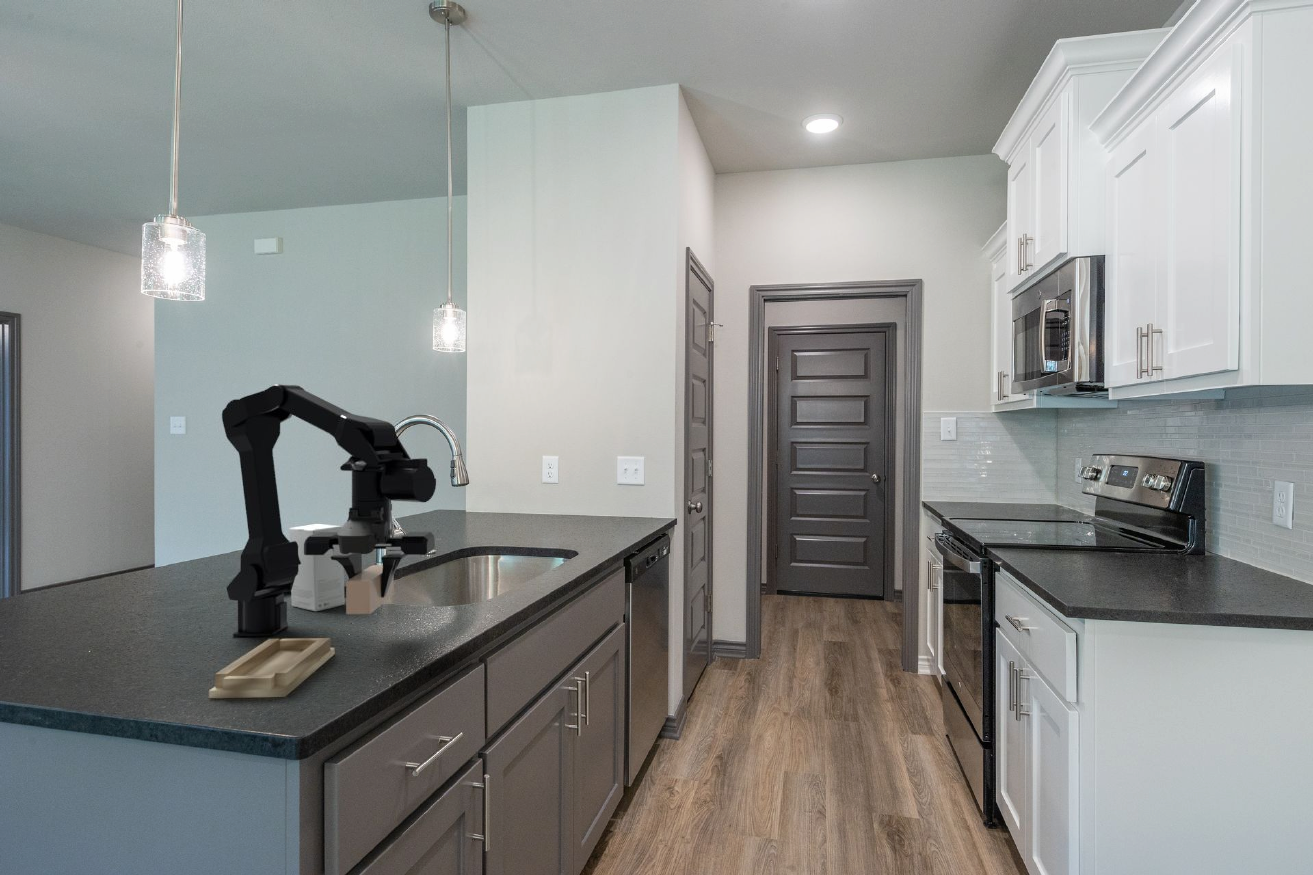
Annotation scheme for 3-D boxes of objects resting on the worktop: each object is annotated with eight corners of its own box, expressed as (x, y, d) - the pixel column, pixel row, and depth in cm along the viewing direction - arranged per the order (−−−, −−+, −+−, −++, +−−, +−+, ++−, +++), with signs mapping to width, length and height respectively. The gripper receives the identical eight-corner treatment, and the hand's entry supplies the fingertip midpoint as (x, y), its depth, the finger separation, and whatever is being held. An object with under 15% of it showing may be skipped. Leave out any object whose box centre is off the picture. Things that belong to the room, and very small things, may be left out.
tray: (208, 698, 91) (208, 676, 91) (270, 654, 108) (270, 636, 108) (285, 696, 92) (285, 675, 92) (334, 653, 109) (334, 635, 109)
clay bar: (346, 614, 106) (346, 581, 106) (372, 594, 118) (372, 565, 118) (370, 613, 107) (370, 581, 106) (393, 594, 119) (393, 565, 118)
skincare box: (345, 605, 137) (345, 526, 137) (313, 612, 132) (313, 530, 131) (320, 599, 142) (320, 522, 142) (288, 606, 136) (288, 526, 136)
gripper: (287, 505, 103) (288, 611, 104) (417, 505, 105) (417, 609, 105) (318, 497, 114) (318, 592, 115) (435, 497, 116) (435, 591, 116)
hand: (371, 597), depth 112 cm, fingers closed on clay bar, 3 cm apart
